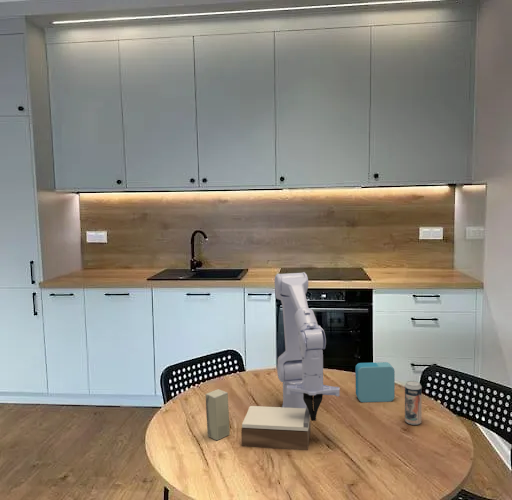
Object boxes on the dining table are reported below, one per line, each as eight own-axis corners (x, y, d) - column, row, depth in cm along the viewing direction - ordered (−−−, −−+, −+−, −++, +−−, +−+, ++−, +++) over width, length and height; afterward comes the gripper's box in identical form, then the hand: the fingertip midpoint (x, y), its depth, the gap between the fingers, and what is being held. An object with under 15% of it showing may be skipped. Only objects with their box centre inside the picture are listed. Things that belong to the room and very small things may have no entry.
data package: (390, 396, 163) (390, 361, 162) (394, 401, 159) (394, 366, 158) (355, 397, 163) (355, 362, 162) (358, 402, 159) (358, 367, 158)
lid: (250, 409, 144) (249, 401, 143) (310, 411, 140) (310, 404, 140) (242, 427, 132) (241, 419, 132) (308, 431, 129) (307, 423, 129)
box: (220, 430, 142) (218, 388, 141) (230, 435, 139) (228, 391, 138) (206, 436, 138) (204, 393, 137) (216, 441, 135) (214, 397, 134)
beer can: (401, 422, 144) (401, 383, 142) (409, 417, 147) (409, 379, 146) (417, 427, 140) (417, 387, 139) (424, 421, 144) (424, 382, 143)
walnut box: (250, 426, 144) (249, 410, 144) (310, 429, 141) (310, 412, 141) (242, 446, 132) (241, 428, 132) (307, 450, 129) (307, 432, 129)
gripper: (284, 376, 130) (286, 424, 132) (339, 378, 128) (339, 427, 129) (287, 367, 137) (288, 413, 139) (339, 369, 135) (339, 415, 136)
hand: (313, 419), depth 134 cm, fingers closed
